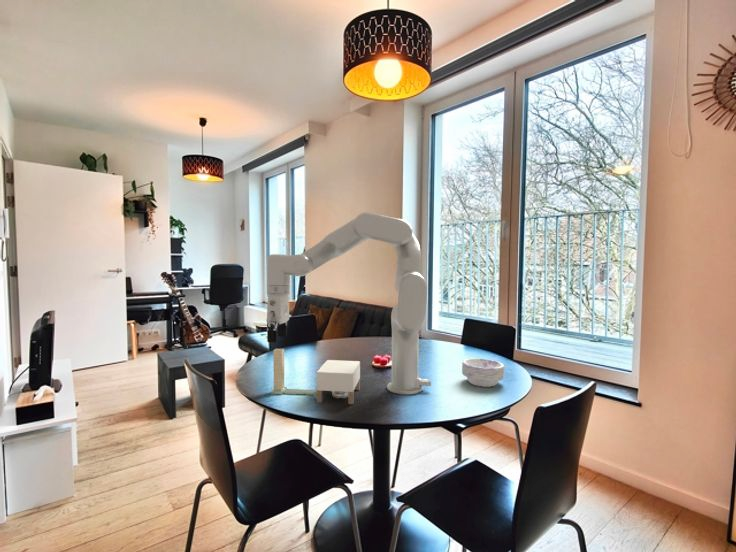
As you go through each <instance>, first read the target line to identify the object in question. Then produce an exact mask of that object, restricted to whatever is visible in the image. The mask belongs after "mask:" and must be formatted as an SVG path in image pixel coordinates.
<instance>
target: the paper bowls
mask: <svg viewBox="0 0 736 552" xmlns="http://www.w3.org/2000/svg"><path fill="white" fill-rule="evenodd" d="M461 363H462V365H461V374H462V375H463V376H464V377H466V379H467V380H468V383H469V384H470V385H471V384H472V385H474V386H477V387H481V386H482V387H481V388H483V387H484V388H490V387H491V386H492V387H495V386H496V385H497V384H498V383H499V381H502V380H504V378H505V377H504V376H505V364H504V363H502V362H500V361H498V360H492V359H489V358H476V357H475V358H473V357H472V358H466V359H464V360H462V362H461Z"/></svg>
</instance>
